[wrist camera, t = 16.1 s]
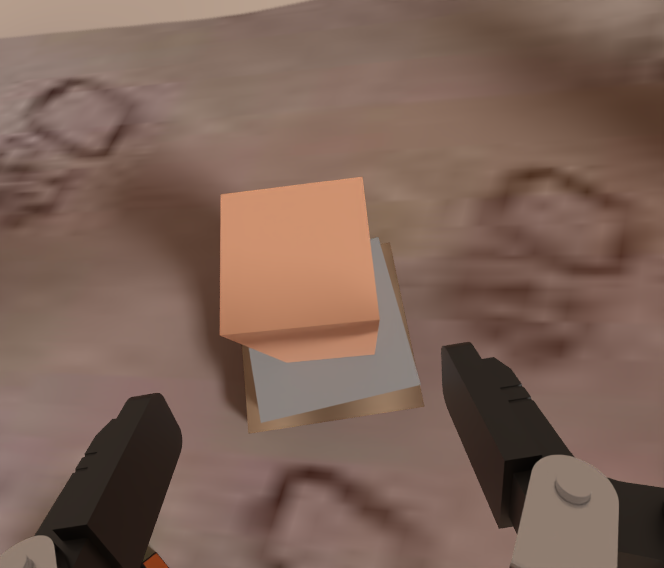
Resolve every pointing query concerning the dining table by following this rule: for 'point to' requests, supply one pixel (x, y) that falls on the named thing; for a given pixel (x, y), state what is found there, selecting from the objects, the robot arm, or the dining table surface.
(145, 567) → the puzzle toy
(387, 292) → the gray middle slab
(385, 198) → the dining table surface
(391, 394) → the walnut base slab
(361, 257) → the terracotta pillar
